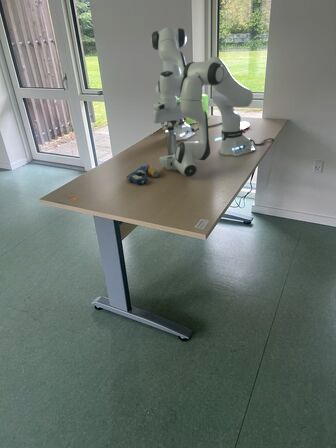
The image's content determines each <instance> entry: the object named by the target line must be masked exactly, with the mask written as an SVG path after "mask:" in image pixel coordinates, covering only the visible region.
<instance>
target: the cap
mask: <svg viewBox="0 0 336 448" xmlns="http://www.w3.org/2000/svg"><path fill="white" fill-rule="evenodd" d="M167 128H168V130H174V126H168V125H167V126H166V129H167Z"/></svg>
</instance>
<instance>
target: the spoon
mask: <svg viewBox="0 0 336 448" xmlns="http://www.w3.org/2000/svg"><path fill="white" fill-rule="evenodd" d="M250 125H251V124H250V123H249V122H248V121H245V120H243V121H241V122H240V129H242V130H247V129H248V128H249V127H250Z"/></svg>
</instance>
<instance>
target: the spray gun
mask: <svg viewBox="0 0 336 448" xmlns="http://www.w3.org/2000/svg"><path fill="white" fill-rule="evenodd" d="M148 174H149V175H150V176H151V177H153V178H158V176H159V174H160V172H159V170H158V169H157V168H154V167H153V166H150V164H140V165H139V166H138V167H137V168H135V169H134V170H133V171H131V172H130V173H129V174H128V175H127V176H126V179H125V181H127V182H129V183H131V182H132V183H134V184H136V185H142V184H146V183H147V182H148V180H149V177H147V175H148Z"/></svg>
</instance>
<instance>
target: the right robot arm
mask: <svg viewBox="0 0 336 448" xmlns="http://www.w3.org/2000/svg"><path fill="white" fill-rule="evenodd" d="M183 76H184V82H183V86H182V91H181V100H180V109H181V111H182V113H183V114H184V115H185V116H186V117H188V118H190V119H192V120H194V121H196V124H197V125H198V128H199V129H198V135H199V140H198V141H180V142H179V143H178V144H177V148H176V152H175V154H173V155H169V154H168V153H166V154H165V155H162V156H159V158H158V161H159V164H160V165H161V166H162V167H164V168H165V170H169V171H170V170H175V171H178V172H179V173H180V174H181V175H183V176H185V177H192V176H194V175H195V174H196V173H197V171H198V169H197V166H196V164H195V163H194V161H196V160H197V161H205V160H207V159H208V158H209V157H210V155H211V146H210V137H209V135H210V134H209V127H208V126H209V120H208V119H209V118H208V119H207V113H206V112H205V111H204V110H203V107H202V94H203V87H204V86H213V88H214V89H213V90H212V93H211V100H212V102H213V104H214V105H215V106H216V107H217V109H218V111H219V112H220V115H221V123H222V124H221V134H220V135H221V137H217V138H215V139H214V141H219V140H221V143H220V149H219V153H220V154H222V155H224V156H235V157H239V156H242V155H245V154H249V153H253V152H255V151H256V148H255V146H261V145H264V143H265V142H266V141H269V140H272V141H275V139H274V138H270V137H269V138H266V139H264V140H263V141H262V142H261V143H255V140H254V139H252V138H250V137H248V136H246V135H244V134H246V133H247V129H243V130H242V129H240V122H242V121H241V119H242V118H241V114H239V113H238V112H237V111H236V110H235V108H240V109H241V108H247V107H250V105H251V104H252V102H253V99H254V94H253V91H252V90H251V89H249V88H247V87H246V86H244V85H242V84H241V83H240V82H239V81H237V80H236V79H235V78H234V76H233V75H232V74H231V72H230V70H229V68H228V66H227V65H226V63H225V62H224V61H223V60H222V59H221V58H220V57H219V56H211V57H210V58H209V59H207V60H206V61H191V62H188V63H186V66H185V68H184V72H183ZM252 142H253V144H252ZM253 145H254V146H253Z"/></svg>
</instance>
